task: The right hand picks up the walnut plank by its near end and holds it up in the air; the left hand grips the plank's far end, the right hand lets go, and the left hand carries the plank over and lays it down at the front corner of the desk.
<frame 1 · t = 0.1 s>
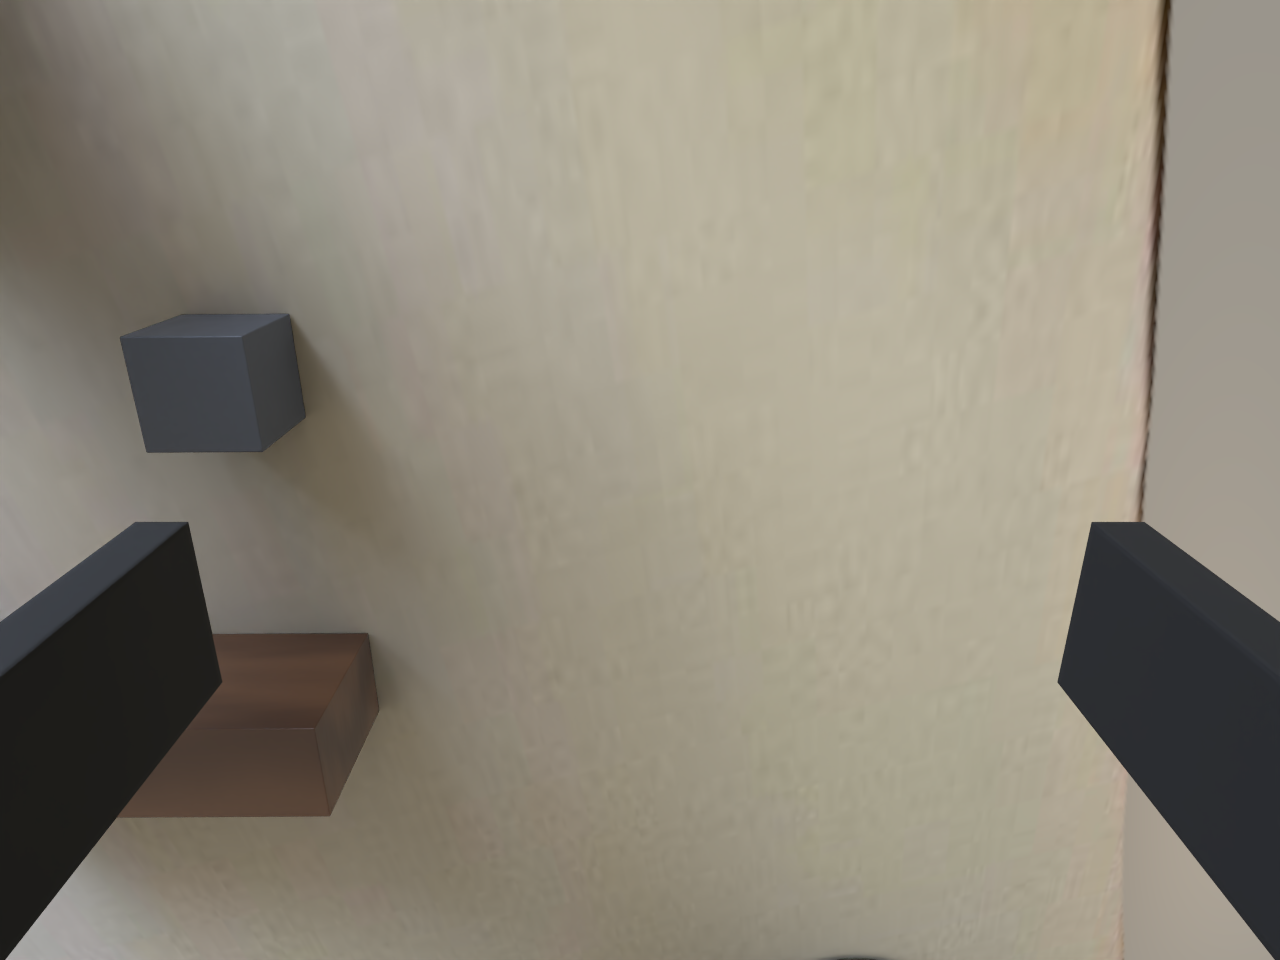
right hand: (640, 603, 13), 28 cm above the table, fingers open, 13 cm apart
slate grey block: (245, 367, 40), on the table
walnut plank: (153, 673, 46), on the table
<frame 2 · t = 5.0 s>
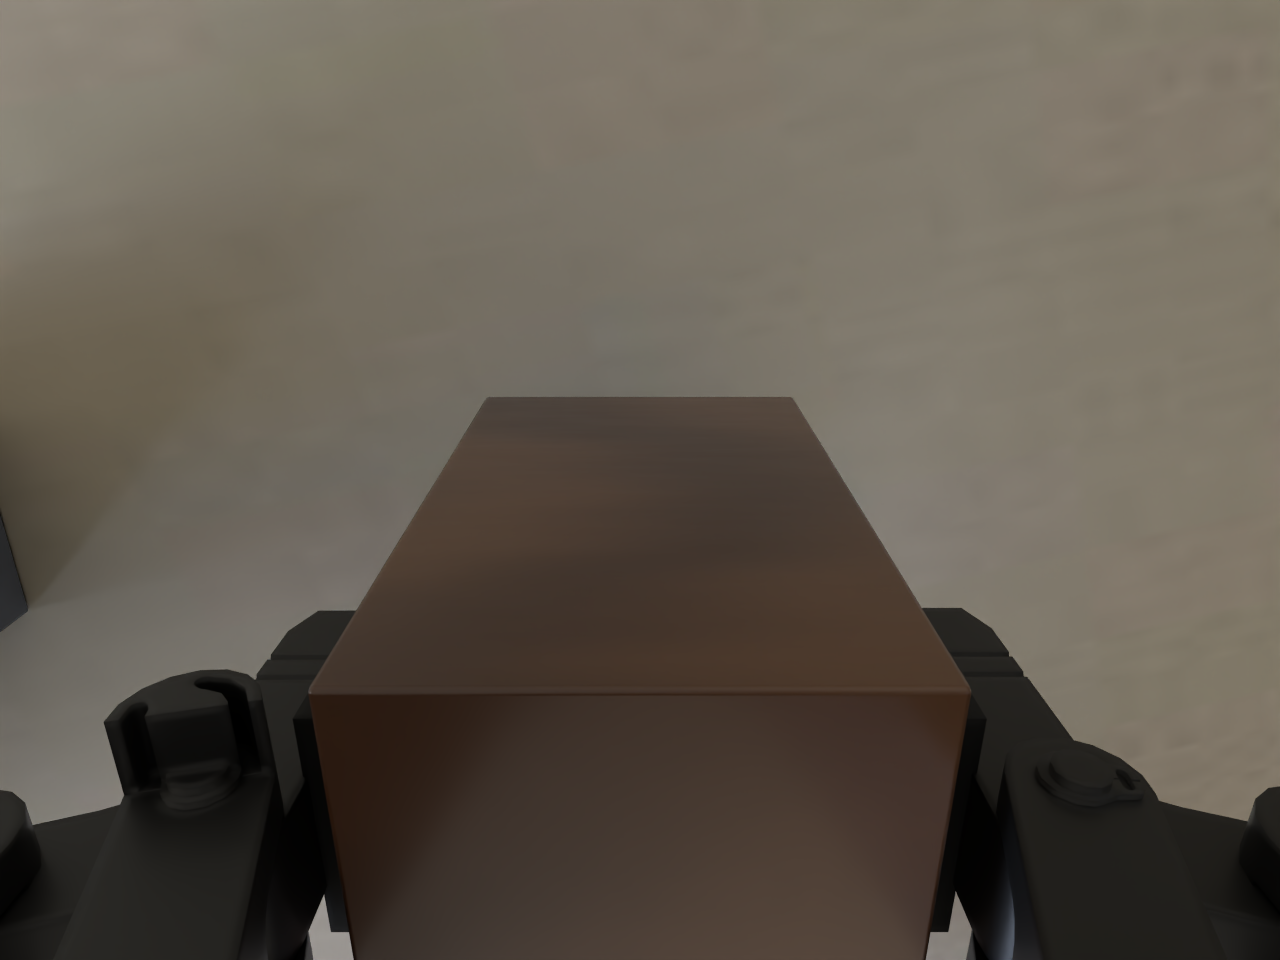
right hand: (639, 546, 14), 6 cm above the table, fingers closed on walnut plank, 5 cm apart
walnut plank: (639, 936, 18), point 5 cm above the table, touching right hand
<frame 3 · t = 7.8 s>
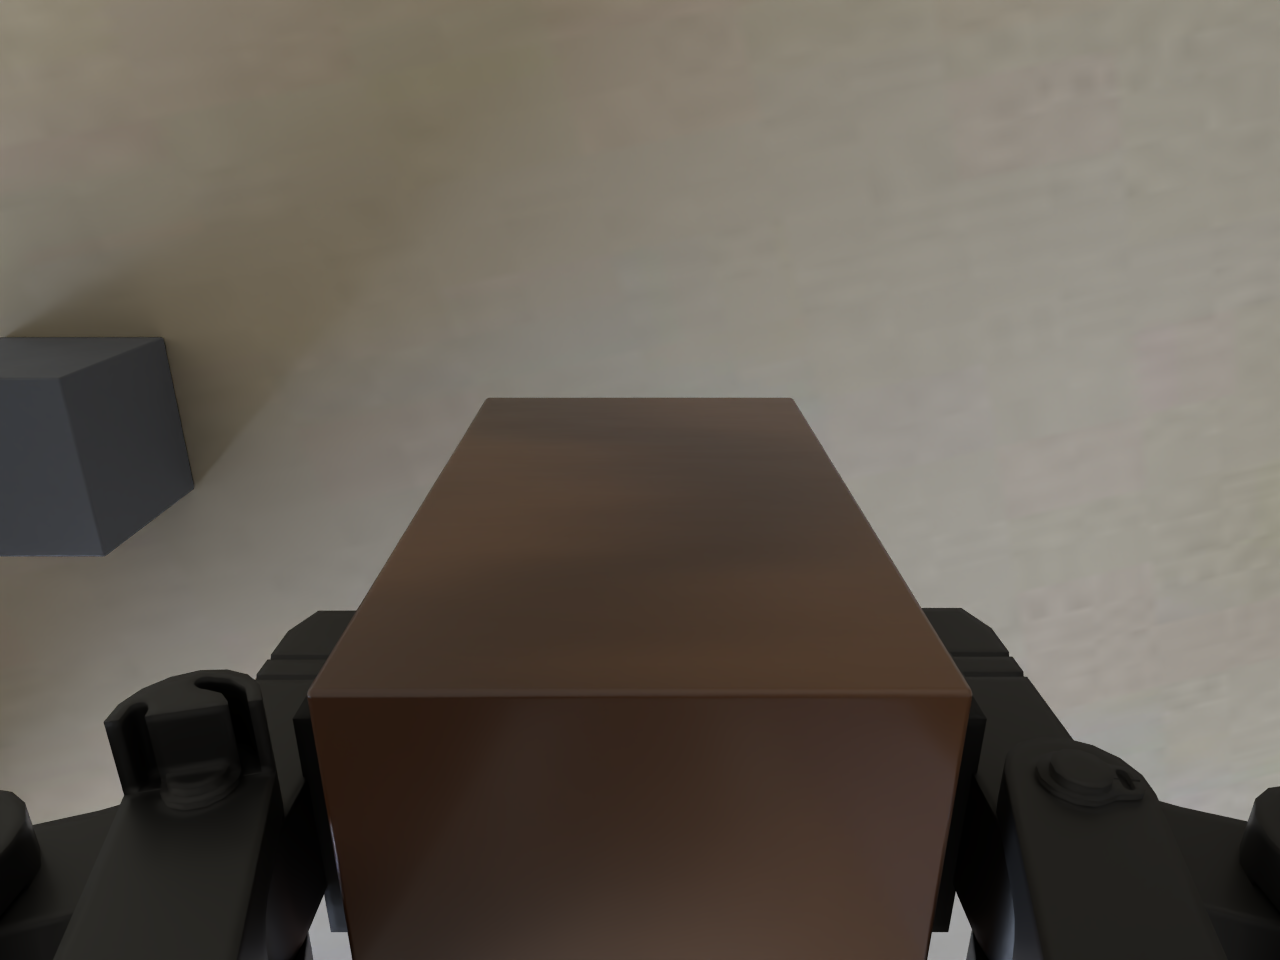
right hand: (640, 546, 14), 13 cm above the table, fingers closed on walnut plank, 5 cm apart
slate grey block: (101, 415, 27), on the table
walnut plank: (639, 937, 18), point 12 cm above the table, touching right hand
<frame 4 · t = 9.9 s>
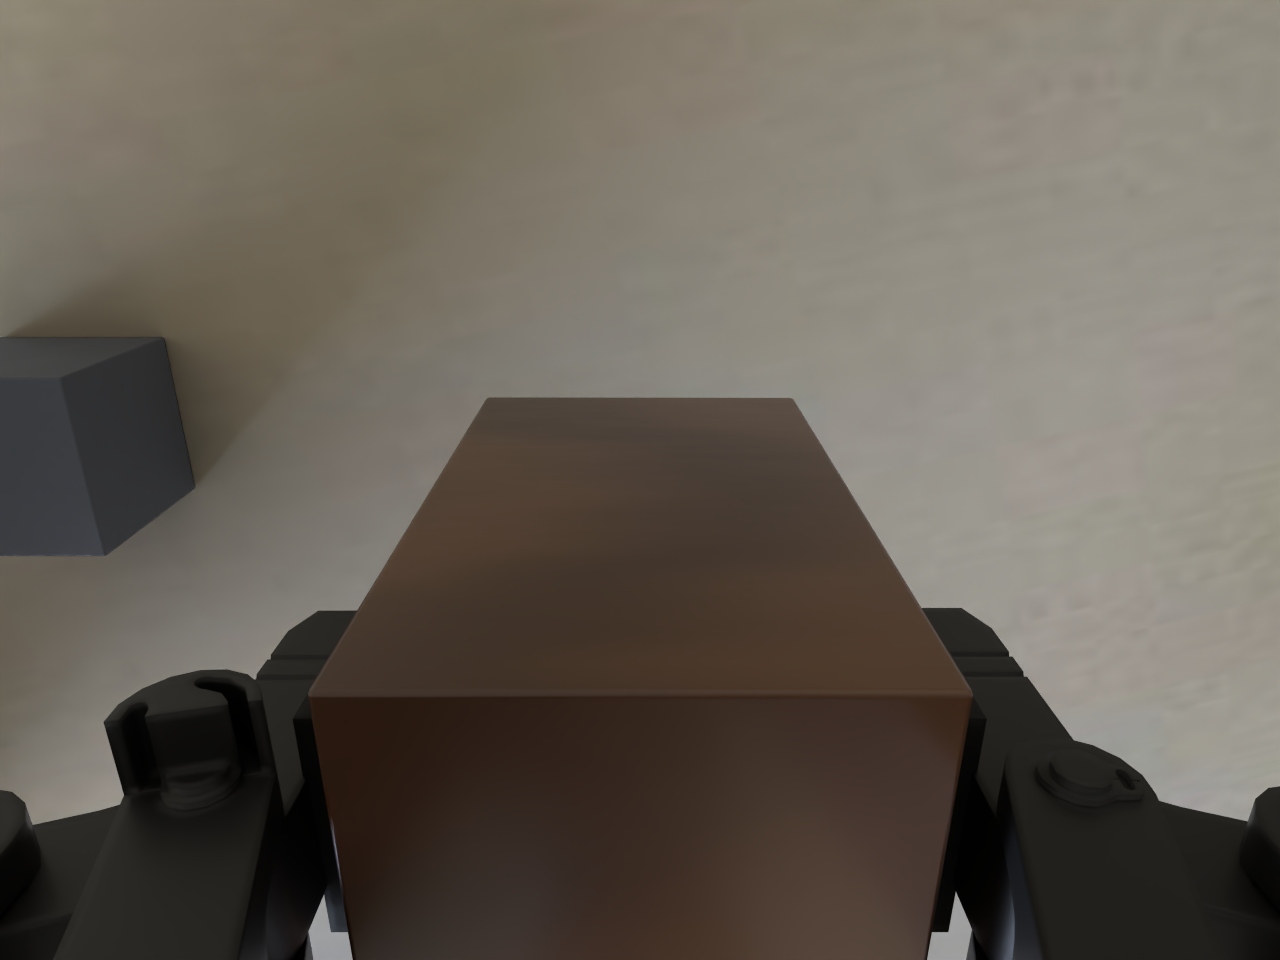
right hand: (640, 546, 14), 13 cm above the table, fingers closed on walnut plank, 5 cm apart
slate grey block: (101, 415, 27), on the table
walnut plank: (638, 937, 18), point 12 cm above the table, touching right hand, left hand
when the right hand's fingers open (13 cm above the table, at t = 10.7 s): walnut plank stays where it is, held by the left hand.
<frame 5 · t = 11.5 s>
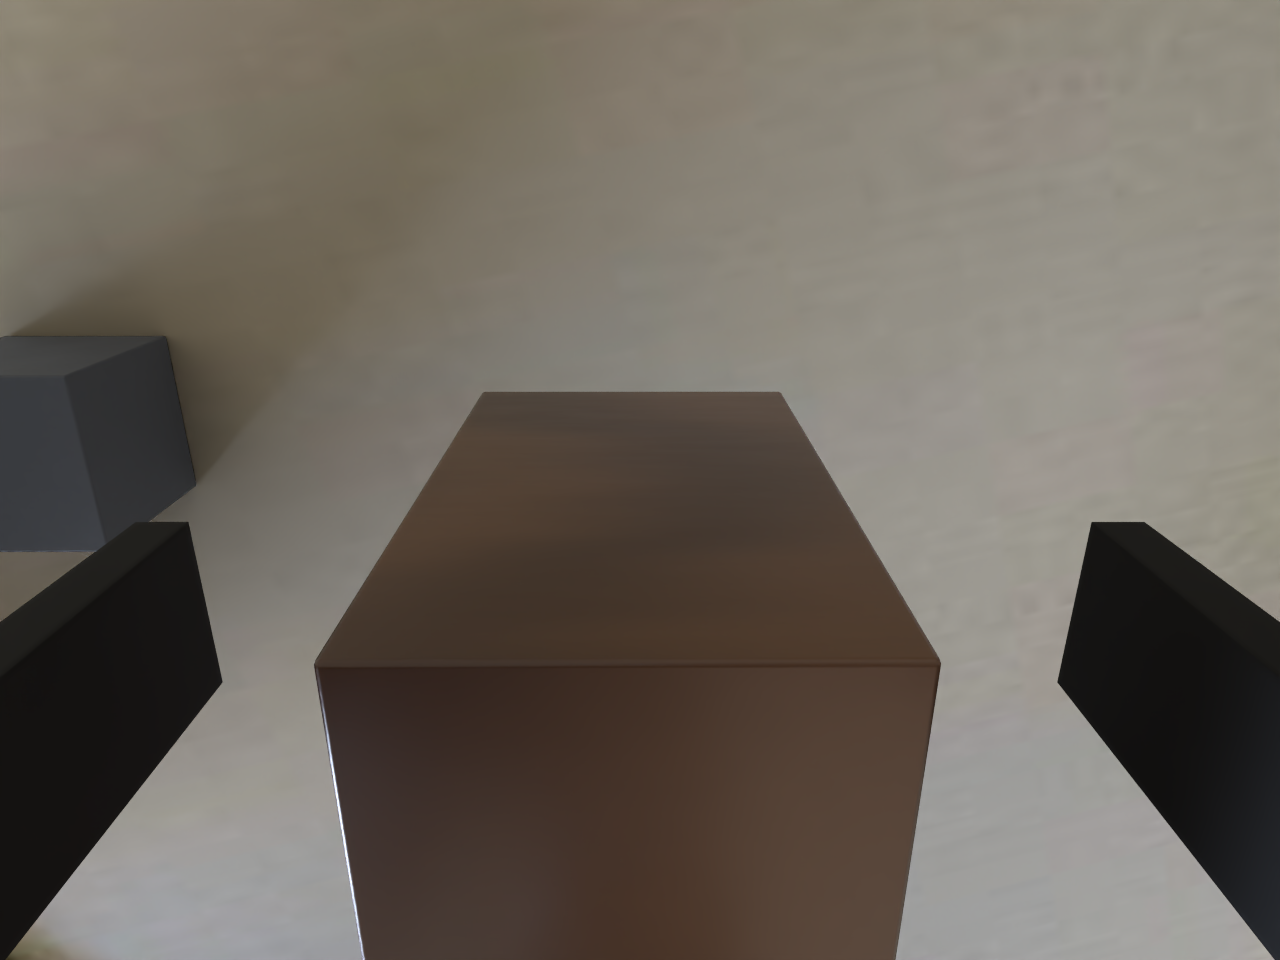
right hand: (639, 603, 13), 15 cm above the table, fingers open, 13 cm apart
slate grey block: (104, 413, 27), on the table
walnut plank: (633, 922, 18), point 12 cm above the table, touching left hand
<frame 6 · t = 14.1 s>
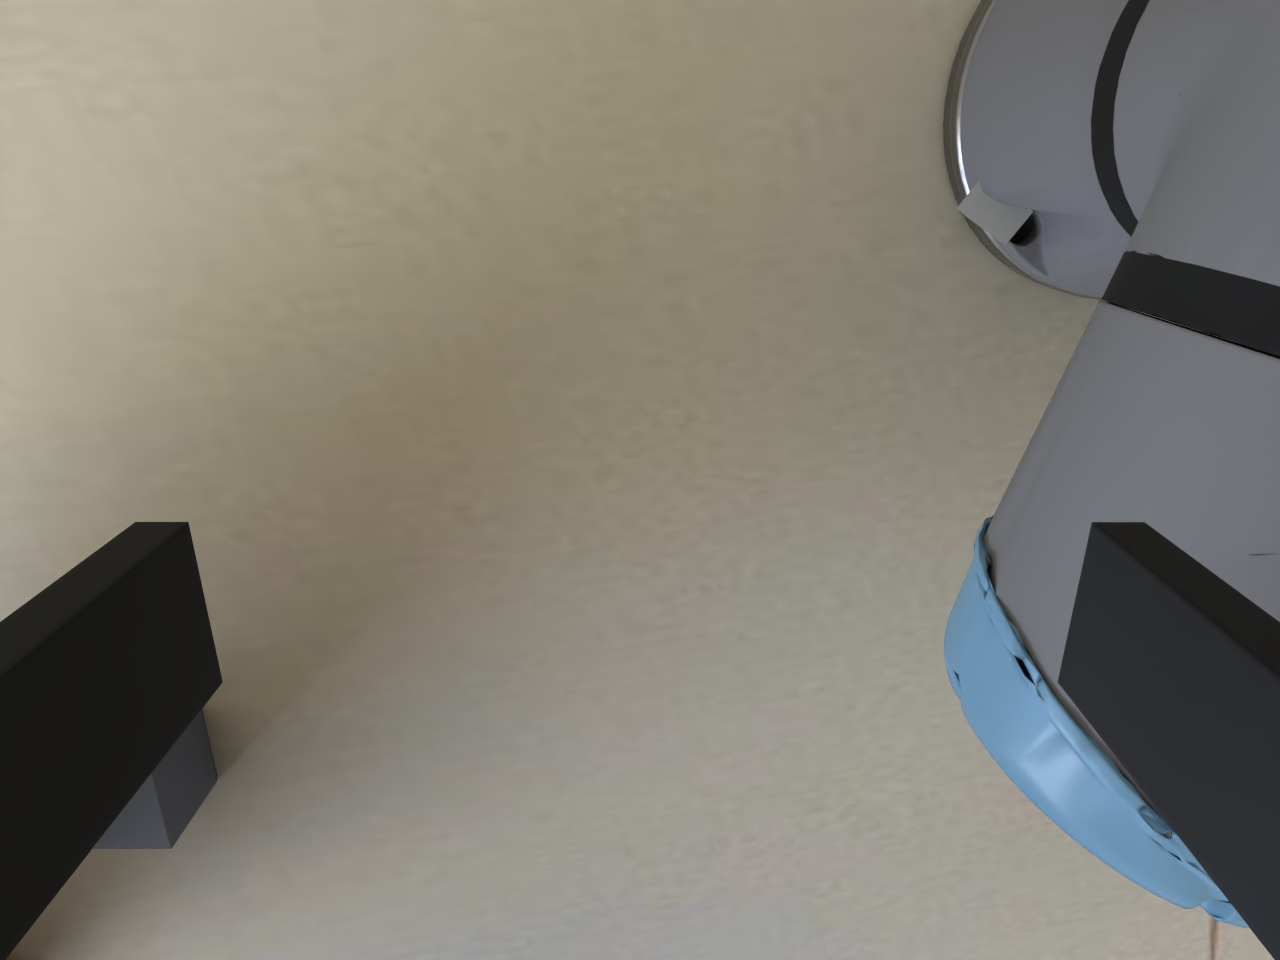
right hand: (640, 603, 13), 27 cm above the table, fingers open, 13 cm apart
slate grey block: (164, 743, 46), on the table
when the left hand's fingers open (2 cm above the table, at t = 18.3 s): walnut plank drops 1 cm, on the table.
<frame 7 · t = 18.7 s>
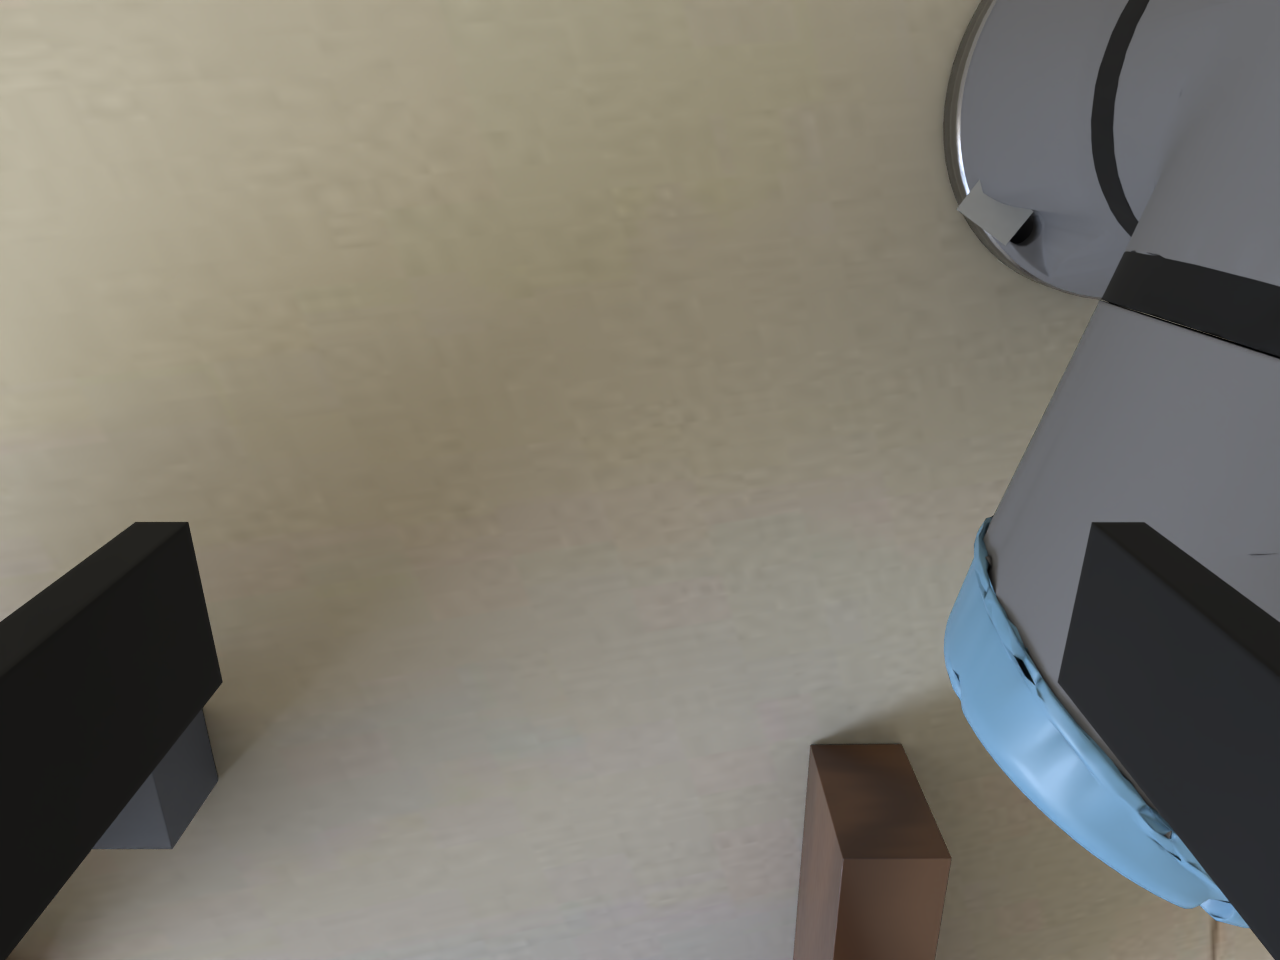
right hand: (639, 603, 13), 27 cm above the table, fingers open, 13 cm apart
slate grey block: (164, 743, 46), on the table
walnut plank: (838, 907, 51), on the table
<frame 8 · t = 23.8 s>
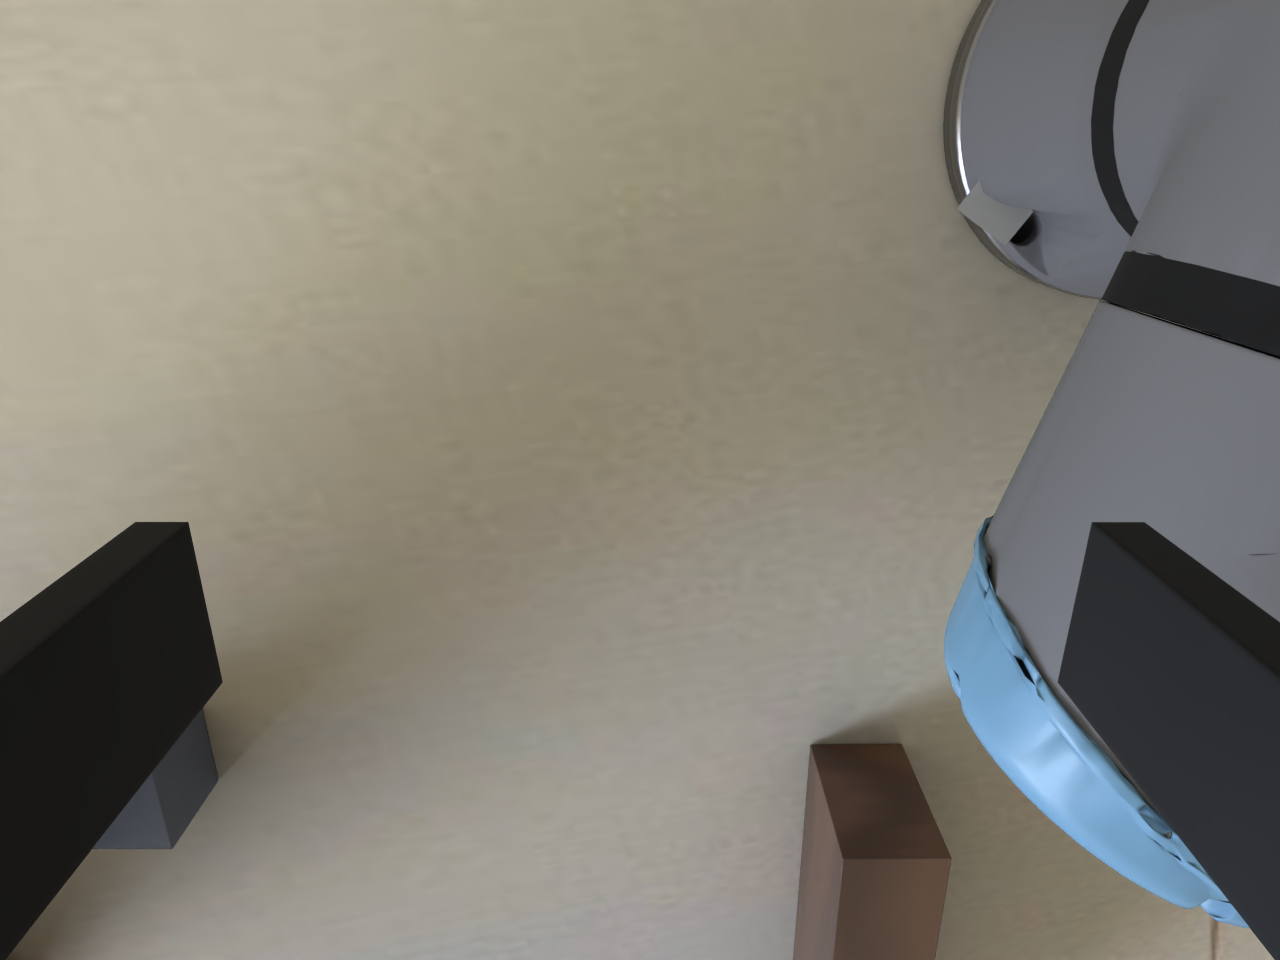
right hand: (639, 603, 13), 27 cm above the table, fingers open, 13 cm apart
slate grey block: (164, 743, 46), on the table
walnut plank: (838, 907, 51), on the table
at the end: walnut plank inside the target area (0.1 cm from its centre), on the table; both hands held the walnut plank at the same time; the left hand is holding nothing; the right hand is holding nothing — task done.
